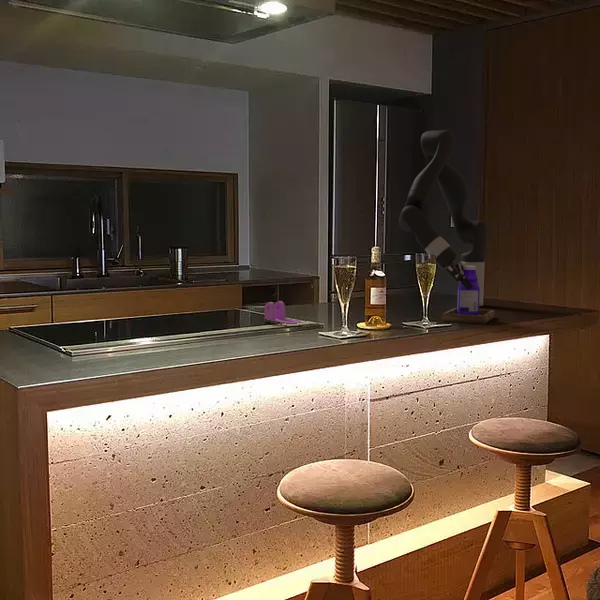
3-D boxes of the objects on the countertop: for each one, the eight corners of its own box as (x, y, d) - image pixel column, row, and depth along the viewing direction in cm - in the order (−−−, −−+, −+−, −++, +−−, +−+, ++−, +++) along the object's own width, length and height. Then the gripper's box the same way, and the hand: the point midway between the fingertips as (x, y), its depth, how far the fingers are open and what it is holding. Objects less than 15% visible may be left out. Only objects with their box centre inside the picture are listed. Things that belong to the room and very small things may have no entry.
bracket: (264, 323, 254) (264, 301, 253) (277, 321, 257) (277, 300, 257) (291, 327, 244) (291, 305, 243) (304, 326, 248) (304, 304, 247)
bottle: (478, 315, 269) (479, 265, 268) (479, 317, 264) (481, 266, 262) (456, 315, 270) (457, 265, 269) (458, 317, 264) (459, 266, 263)
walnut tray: (454, 314, 278) (454, 307, 278) (494, 317, 272) (494, 310, 272) (442, 321, 262) (442, 313, 261) (484, 323, 256) (484, 316, 256)
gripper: (444, 246, 261) (477, 281, 257) (454, 244, 274) (486, 278, 270) (428, 261, 263) (461, 296, 260) (439, 259, 276) (470, 293, 273)
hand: (473, 287), depth 265 cm, fingers open, 8 cm apart
